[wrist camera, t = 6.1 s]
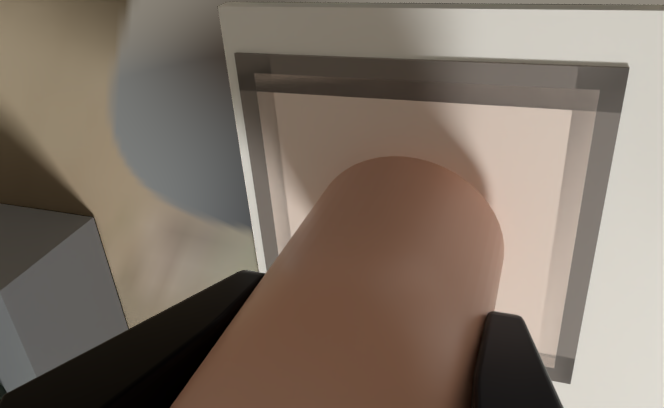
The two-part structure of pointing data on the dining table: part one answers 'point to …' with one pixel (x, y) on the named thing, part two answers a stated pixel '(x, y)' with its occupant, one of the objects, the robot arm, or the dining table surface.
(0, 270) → the button housing
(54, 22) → the dining table surface
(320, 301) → the cylinder
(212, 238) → the dining table surface
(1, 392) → the button
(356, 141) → the sorting tray
